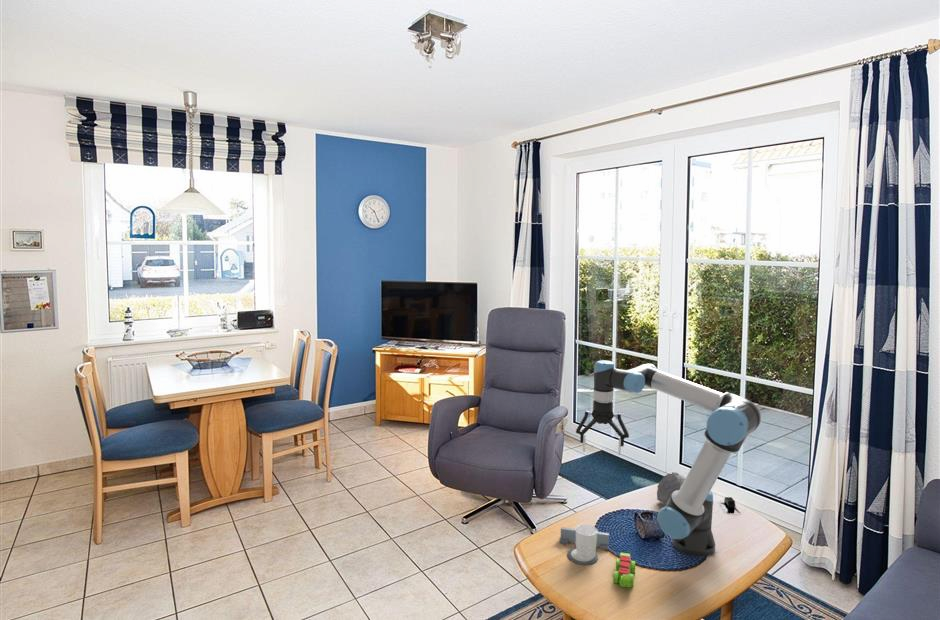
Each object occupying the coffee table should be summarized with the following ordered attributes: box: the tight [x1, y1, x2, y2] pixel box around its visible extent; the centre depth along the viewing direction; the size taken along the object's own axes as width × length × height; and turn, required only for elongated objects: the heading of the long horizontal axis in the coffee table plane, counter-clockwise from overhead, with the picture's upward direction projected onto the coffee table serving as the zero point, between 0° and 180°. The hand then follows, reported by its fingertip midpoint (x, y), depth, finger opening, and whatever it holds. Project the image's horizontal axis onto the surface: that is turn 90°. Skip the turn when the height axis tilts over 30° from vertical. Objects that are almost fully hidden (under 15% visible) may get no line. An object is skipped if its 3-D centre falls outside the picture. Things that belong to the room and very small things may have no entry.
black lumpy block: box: [718, 496, 741, 515], centre depth 242 cm, size 12×7×5 cm, turn 177°
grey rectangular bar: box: [559, 526, 610, 551], centre depth 215 cm, size 18×5×5 cm, turn 75°
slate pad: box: [567, 546, 599, 566], centre depth 206 cm, size 11×11×1 cm
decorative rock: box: [656, 471, 686, 505], centre depth 243 cm, size 16×7×15 cm, turn 37°
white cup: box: [574, 523, 598, 560], centre depth 205 cm, size 8×8×10 cm
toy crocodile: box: [613, 552, 636, 588], centre depth 194 cm, size 20×7×6 cm, turn 161°
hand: (601, 452), depth 222 cm, fingers open, 13 cm apart
